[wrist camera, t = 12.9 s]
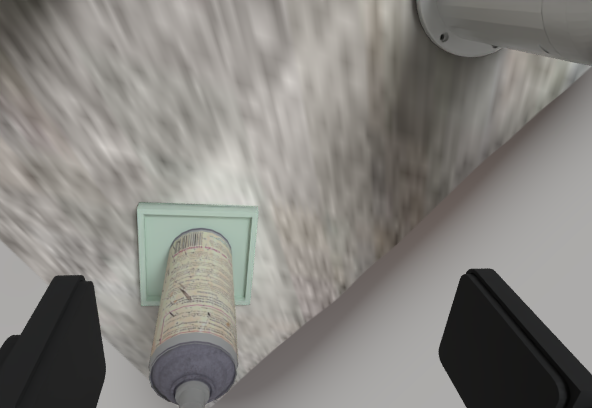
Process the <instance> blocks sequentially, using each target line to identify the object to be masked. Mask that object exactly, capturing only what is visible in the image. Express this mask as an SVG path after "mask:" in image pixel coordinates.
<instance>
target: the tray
mask: <svg viewBox="0 0 592 408" xmlns="http://www.w3.org/2000/svg"><path fill="white" fill-rule="evenodd" d="M137 222H138V246H139V270H140V294H141V306H160V300H161V295H162V289H163V284H164V278H165V272H166V267H167V261H168V256H169V250H170V246H171V244H172V242H173V241H174V239H175V238H176V237H177V236H179V235H180V234H181V233H182V232H185V231H187V230H190V229H194V228H206V229H212V230H214V231H216V232H218V233H220V234H221V235H223V236H224V237H225V238H226V239H227V240H228V242H229V244H230V246H231V251H232V265H233V282H234V299H235V305H250V298H251V288H252V277H253V266H254V255H255V244H256V234H257V223H258V208H257V206H234V205H205V204H177V203H148V202H139V204H138V207H137Z"/></svg>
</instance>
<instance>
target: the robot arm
mask: <svg viewBox="0 0 592 408" xmlns="http://www.w3.org/2000/svg"><path fill="white" fill-rule="evenodd" d="M416 4H417V11H418V15H419V19H420V22H421V24H422V26H423V28H424V30H425V32H426V34H427V35H428V36H429V38H430V39H431V40H432V42H434V43H435V44H436V45H437V46H438V47H440V48H441V49H443V50H445V51H447V52H449V53H451V54H455V55H458V56H463V57H480V56H485V55H488V54H491V53H494V52H496V51H498V50H500V49H502V48H508V49H513V50H518V51H522V52H527V53H532V54H536V55H541V56H546V57H551V58H555V59H560V60H565V61H569V62H574V63H579V64H584V65H589V66H592V0H416ZM441 34H442V38H441V39H440V36H441ZM439 357H440V361H441V363H442V365H443V367H444V369H445V370H446V372H447V374H448V376H449V377H450V379H451V381H452V383H453V384H454V386H455V388H456V389H457V391H458V393H459V395H460V397H461V398H462V400H463V402H464V404H465V406H466V407H467V408H592V375H591V374H590V372H589V371H588V370H587V369H586V368H585V367H584V366H583V365H582V364H581V363H580V362H579V361H578V360H577V358H576V357H575V356H573V354H572V353H571V352H570V351H569V350H568V349H567V348H566V347H565V346H564V345H563V344H562V342H561V341H560V340H558V338H557V337H556V336H555V335H554V334H553V333H552V332H551V331H550V330H549V328H548V327H547V326H546V325H545V324H544V323H543V322H542V321H541V320H540V319H539V318H538V317H537V316H536V315H535V314H534V312H533V311H532V310H531V309H530V308H529V307H528V306H527V305H526V304H525V303H524V302H523V301H522V300H521V299H520V297H519V296H518V295H517V294H516V293H515V292H514V291H513V290H512V289H511V288H510V287H509V286H508V285H507V284H506V282H505V281H504V280H503V279H502V278H501V277H500V276H499V275H498V274H497V273H496V272H495V271H494V270H493V269H469V270H468V271H467V272H466V274H464V275H462V276H461V278H460V281H459V284H458V288H457V291H456V294H455V297H454V301H453V304H452V307H451V311H450V314H449V317H448V321H447V324H446V327H445V330H444V334H443V337H442V340H441V343H440V347H439ZM105 372H106V364H105V358H104V351H103V344H102V337H101V331H100V324H99V317H98V311H97V304H96V298H95V291H94V285H93V282H91V281H85V278H84V276H82V275H64V276H55V277H54V278H53V280H52V282H51V283H50V285H49V287H48V288H47V290H46V292H45V294H44V295H43V297H42V299H41V301H40V302H39V304H38V306H37V308H36V309H35V311H34V313H33V314H32V316H31V318H30V319H29V321H28V323H27V325H26V326H25V328H24V330H23V332H22V333H21V335H12V336H10V337H9V338H8V339H7V340H6V341H5V342H4V344H3V345H2V347H1V348H0V408H96V406H97V403H98V399H99V396H100V393H101V389H102V386H103V383H104V379H105Z"/></svg>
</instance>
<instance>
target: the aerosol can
mask: <svg viewBox="0 0 592 408" xmlns="http://www.w3.org/2000/svg"><path fill="white" fill-rule="evenodd" d="M237 367H238V351H237V334H236V316H235V299H234V282H233V265H232V251H231V246H230V244H229V242H228V240H227V239H226V238H225V237H224V236H223V235H221V234H220V233H218V232H216V231H214V230H212V229H206V228H194V229H190V230H187V231H185V232H182V233H181V234H180V235H179V236H177V237H176V238H175V239H174V241H173V242H172V244H171V246H170V250H169V256H168V261H167V267H166V272H165V278H164V284H163V289H162V295H161V300H160V306H159V312H158V317H157V323H156V329H155V334H154V340H153V345H152V351H151V357H150V362H149V371H150V374H149V380H150V383H151V387H152V388H153V389H154V391H155V392H156V393H157V395H159V396H160V397H162V398H164V399H165V400H167V401H169V402H172V403H175V404H177V405H179V408H204V406H205V404H206V403H209V402H211V401H213V400H216V399H218V398H220V397H221V396H222V395H224V394H225V393H227V392H228V390H229V389H230V388H231V387H232V385H233V384H234V382H235V379H236V375H237Z"/></svg>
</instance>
